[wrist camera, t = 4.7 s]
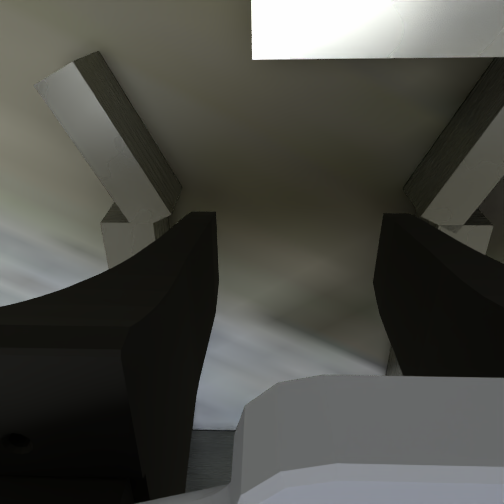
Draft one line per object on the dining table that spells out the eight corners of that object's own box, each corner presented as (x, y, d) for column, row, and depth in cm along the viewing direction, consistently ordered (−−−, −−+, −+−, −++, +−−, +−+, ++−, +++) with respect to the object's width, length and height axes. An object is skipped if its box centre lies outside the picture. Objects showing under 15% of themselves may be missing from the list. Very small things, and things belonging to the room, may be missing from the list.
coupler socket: (541, 50, 13) (627, 71, 10) (428, 457, 21) (456, 538, 18) (59, 51, 13) (-3, 71, 10) (136, 452, 21) (114, 530, 18)
